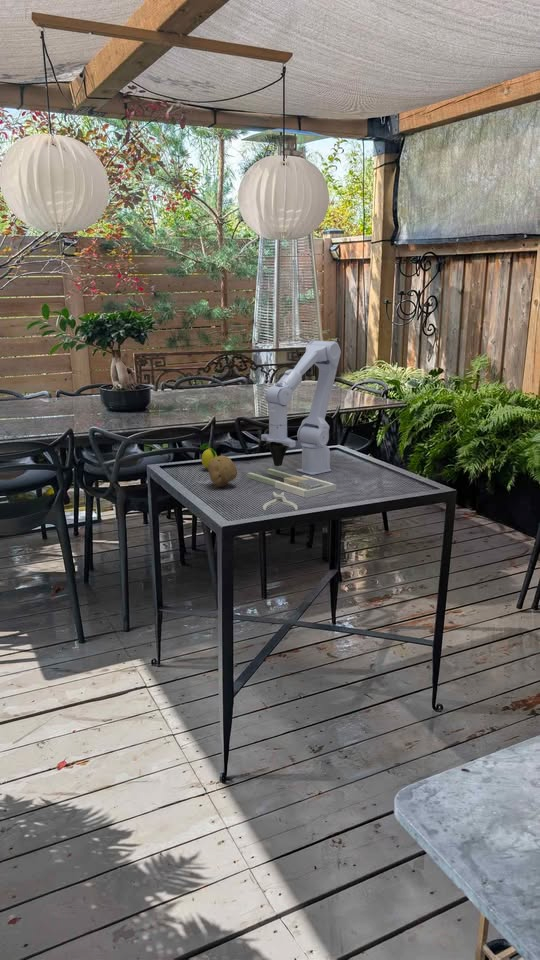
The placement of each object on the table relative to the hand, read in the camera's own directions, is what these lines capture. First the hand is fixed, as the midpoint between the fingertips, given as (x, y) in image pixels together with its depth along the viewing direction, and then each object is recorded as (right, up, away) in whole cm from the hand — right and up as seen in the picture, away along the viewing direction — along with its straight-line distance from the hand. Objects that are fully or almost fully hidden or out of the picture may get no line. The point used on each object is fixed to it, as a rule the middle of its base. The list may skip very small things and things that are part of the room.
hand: (278, 465), depth 226 cm
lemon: (-24, -1, +15) cm, 28 cm away
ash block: (+6, -7, -6) cm, 11 cm away
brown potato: (-18, -7, -6) cm, 20 cm away
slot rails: (-2, -4, +3) cm, 6 cm away
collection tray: (+8, -7, -8) cm, 14 cm away
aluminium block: (+10, -8, -10) cm, 16 cm away
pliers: (0, -12, -23) cm, 25 cm away
